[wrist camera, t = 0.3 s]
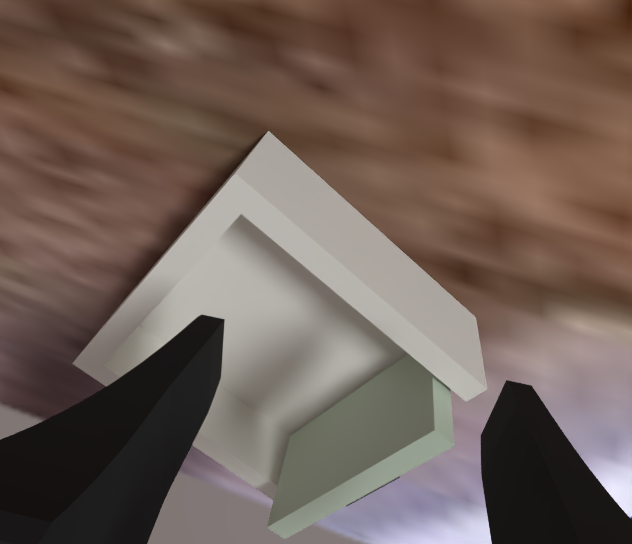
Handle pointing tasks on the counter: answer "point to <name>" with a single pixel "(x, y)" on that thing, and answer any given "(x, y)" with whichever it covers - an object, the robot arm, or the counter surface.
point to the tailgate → (362, 445)
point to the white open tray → (287, 311)
